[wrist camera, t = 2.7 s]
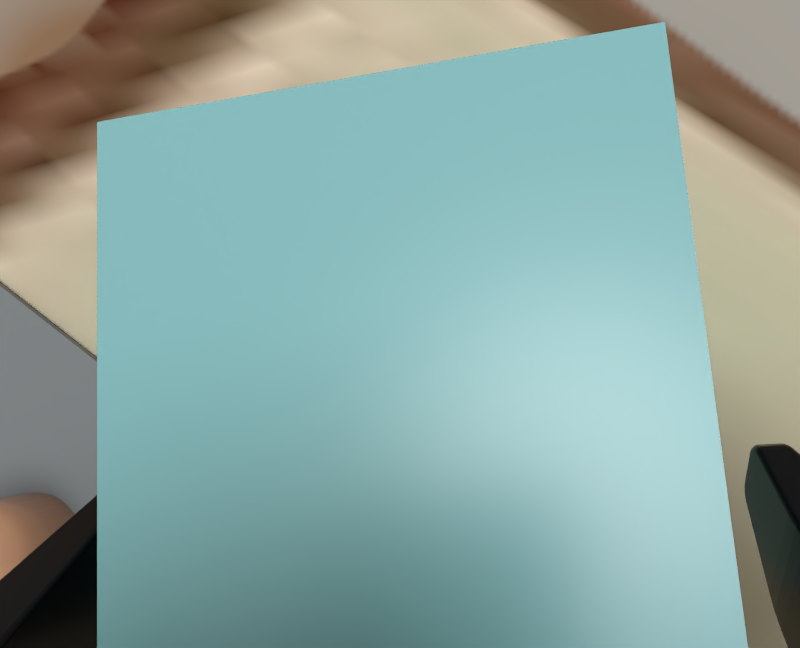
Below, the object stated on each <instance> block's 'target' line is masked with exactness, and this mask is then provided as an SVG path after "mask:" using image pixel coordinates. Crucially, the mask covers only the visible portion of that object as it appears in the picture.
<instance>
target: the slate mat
mask: <svg viewBox="0 0 800 648" xmlns="http://www.w3.org/2000/svg"><path fill="white" fill-rule="evenodd" d="M29 493H45V494H49V495H52V496H55V497H57V498H58V499H60V500H61V501H63V502H64V503H65V504H66V505H67V506H68V507H69V508H70V509H71V510H72V511H73V513H74V514H76V513H77V512H78V511H79V510H80V509H81V508H83V507H84V506H85V505H86V504H87V503H88V502H89V501H91V500H92V499H93V498H94V497H95V496H96V495H97V358H96V357H95V356H94V355H93V354H91V353H90V352H89V351H87V350H86V349H85V348H84V347H82V346H81V345H80V344H78V343H77V342H76V341H75V340H73V339H72V338H71V337H70V336H68V335H67V334H66V333H64V332H63V331H62V330H61V329H59V328H58V327H57V326H56V325H54V324H53V323H52V322H50V321H49V320H48V319H47V318H45V317H44V316H43V315H42V314H40V313H39V312H38V311H36V310H35V309H34V308H33V307H31V306H30V305H29V304H27V303H26V302H25V301H24V300H22V299H21V298H20V297H19V296H17V295H16V294H15V293H13V292H12V291H11V290H10V289H8V288H7V287H6V286H5V285H3V284H2V283H1V282H0V498H4V497H10V496H17V495H23V494H29Z"/></svg>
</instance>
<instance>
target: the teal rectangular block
mask: <svg viewBox="0 0 800 648" xmlns="http://www.w3.org/2000/svg"><path fill="white" fill-rule="evenodd" d="M97 648H748V644H747V636H746V629H745V621H744V614H743V606H742V599H741V591H740V584H739V576H738V568H737V561H736V553H735V546H734V538H733V531H732V523H731V516H730V508H729V501H728V493H727V486H726V478H725V471H724V463H723V456H722V448H721V441H720V433H719V426H718V418H717V411H716V403H715V396H714V388H713V381H712V373H711V366H710V358H709V350H708V343H707V335H706V328H705V320H704V313H703V305H702V298H701V290H700V283H699V275H698V268H697V260H696V253H695V245H694V238H693V230H692V223H691V215H690V208H689V200H688V193H687V185H686V178H685V170H684V163H683V155H682V148H681V140H680V133H679V125H678V117H677V110H676V102H675V95H674V87H673V80H672V72H671V65H670V57H669V50H668V42H667V35H666V27H665V22H662V23H656V24H650V25H645V26H639V27H633V28H628V29H622V30H616V31H611V32H605V33H599V34H594V35H588V36H582V37H577V38H571V39H565V40H560V41H554V42H548V43H543V44H537V45H531V46H526V47H520V48H514V49H509V50H503V51H497V52H492V53H486V54H480V55H475V56H469V57H463V58H458V59H452V60H446V61H441V62H435V63H429V64H424V65H418V66H412V67H407V68H401V69H395V70H390V71H384V72H378V73H373V74H367V75H361V76H356V77H350V78H344V79H339V80H333V81H327V82H322V83H316V84H310V85H305V86H299V87H293V88H288V89H282V90H276V91H271V92H265V93H259V94H254V95H248V96H242V97H237V98H231V99H225V100H220V101H214V102H208V103H203V104H197V105H191V106H186V107H180V108H174V109H169V110H163V111H157V112H152V113H146V114H140V115H135V116H129V117H123V118H118V119H112V120H106V121H101V122H97Z"/></svg>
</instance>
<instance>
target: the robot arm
mask: <svg viewBox="0 0 800 648" xmlns="http://www.w3.org/2000/svg"><path fill="white" fill-rule="evenodd" d="M745 496H746V502H747V506H748V510H749V514H750V518H751V522H752V526H753V529H754V533H755V537H756V541H757V545H758V549H759V553H760V557H761V561H762V565H763V569H764V573H765V577H766V581H767V584H768V588H769V592H770V596H771V600H772V603H773V607H774V610H775V613H776V616H777V619H778V622H779V625H780V628H781V630H782V633H783V636H784V638H785V641H786V643H787V646H788V648H800V454H799V453H798V452H796V451H795V450H794V449H793V448H792V447H790V446H788V445H786V444H762V445H755V446H754V447H753V448H752V449H751V452H750V457H749V463H748V468H747V474H746V480H745ZM0 648H97V495H96V496H95V497H94V498H93V499H92V500H91V501H89V502H88V503H87V504H86V505H85V506H84V507H83V508H81V509H80V510H79V511H78V512H77V513H76V514H75V515H73V516H72V517H71V518H70V519H69V520H68V521H67V522H66V523H64V524H63V525H62V526H61V527H60V528H59V529H58V530H56V531H55V532H54V533H53V534H52V535H51V536H50V537H48V538H47V539H46V540H45V541H44V542H43V543H42V544H41V545H39V546H38V547H37V548H36V549H35V550H34V551H33V552H31V553H30V554H29V555H28V556H27V557H26V558H25V559H23V560H22V561H21V562H20V563H19V564H18V565H17V566H16V567H14V568H13V569H12V570H11V571H10V572H9V573H8V574H6V575H5V576H4V577H3V578H2V579H1V580H0Z"/></svg>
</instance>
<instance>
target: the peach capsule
mask: <svg viewBox="0 0 800 648" xmlns="http://www.w3.org/2000/svg"><path fill="white" fill-rule="evenodd" d="M73 515H75V514H74V513H73V511H72V510H71V509H70V508H69V507H68V506H67V505H66V504H65V503H64V502H63V501H61V500H60V499H58V498H57V497H55V496H52V495H49V494H45V493H29V494H23V495H17V496H10V497H4V498H0V580H1V579H2V578H3V577H4V576H5V575H6V574H8V573H9V572H10V571H11V570H12V569H13V568H14V567H16V566H17V565H18V564H19V563H20V562H21V561H22V560H23V559H25V558H26V557H27V556H28V555H29V554H30V553H31V552H33V551H34V550H35V549H36V548H37V547H38V546H39V545H41V544H42V543H43V542H44V541H45V540H46V539H47V538H48V537H50V536H51V535H52V534H53V533H54V532H55V531H56V530H58V529H59V528H60V527H61V526H62V525H63V524H64V523H66V522H67V521H68V520H69V519H70V518H71V517H72V516H73Z"/></svg>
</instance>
